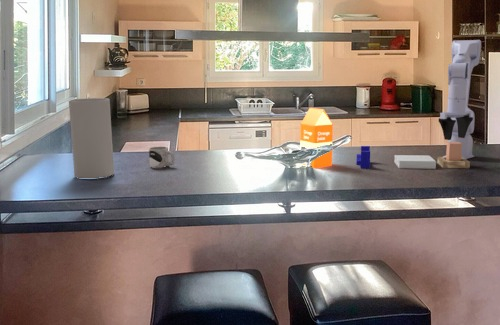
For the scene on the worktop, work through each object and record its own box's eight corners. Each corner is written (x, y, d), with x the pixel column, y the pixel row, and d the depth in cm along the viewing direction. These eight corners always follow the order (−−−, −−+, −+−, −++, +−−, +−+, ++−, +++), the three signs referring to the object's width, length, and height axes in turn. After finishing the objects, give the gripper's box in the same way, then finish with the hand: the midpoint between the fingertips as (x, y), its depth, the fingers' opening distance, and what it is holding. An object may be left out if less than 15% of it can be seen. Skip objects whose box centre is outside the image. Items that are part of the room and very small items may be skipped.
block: (457, 164, 187) (458, 141, 186) (460, 166, 183) (462, 143, 182) (445, 164, 188) (446, 141, 186) (448, 166, 184) (449, 143, 182)
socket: (462, 163, 189) (462, 157, 189) (469, 168, 181) (469, 161, 180) (437, 163, 190) (437, 156, 190) (443, 167, 182) (443, 161, 181)
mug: (145, 167, 189) (144, 148, 188) (157, 164, 195) (156, 146, 194) (169, 169, 185) (168, 150, 184) (180, 166, 191) (179, 147, 189)
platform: (428, 162, 192) (429, 155, 191) (435, 168, 181) (436, 161, 180) (394, 162, 193) (394, 155, 193) (399, 168, 182) (399, 161, 182)
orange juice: (313, 168, 185) (314, 109, 181) (299, 163, 192) (300, 107, 189) (332, 165, 188) (333, 108, 184) (317, 161, 196) (318, 106, 192)
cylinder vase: (72, 174, 179) (67, 99, 175) (111, 170, 184) (106, 97, 179) (76, 182, 168) (70, 101, 163) (117, 178, 173) (112, 100, 168)
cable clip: (356, 162, 195) (356, 145, 194) (369, 162, 194) (369, 146, 193) (356, 168, 183) (356, 151, 182) (369, 169, 182) (370, 151, 181)
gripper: (459, 97, 188) (457, 135, 191) (433, 99, 180) (431, 139, 183) (478, 98, 183) (475, 137, 185) (451, 100, 175) (449, 141, 177)
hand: (454, 138), depth 184 cm, fingers open, 7 cm apart
